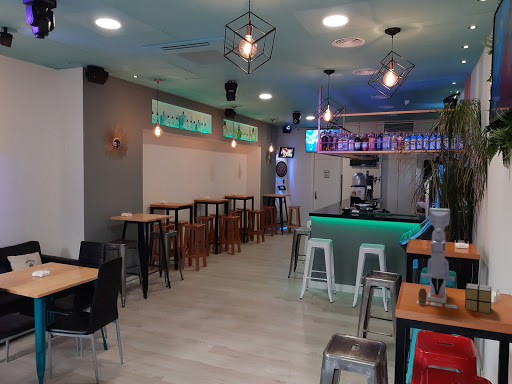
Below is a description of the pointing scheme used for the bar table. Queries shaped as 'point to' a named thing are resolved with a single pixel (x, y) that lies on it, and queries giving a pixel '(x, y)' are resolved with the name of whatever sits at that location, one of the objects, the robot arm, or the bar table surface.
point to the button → (437, 295)
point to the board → (440, 304)
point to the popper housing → (436, 298)
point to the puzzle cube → (478, 298)
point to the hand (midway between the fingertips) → (437, 294)
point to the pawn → (422, 295)
